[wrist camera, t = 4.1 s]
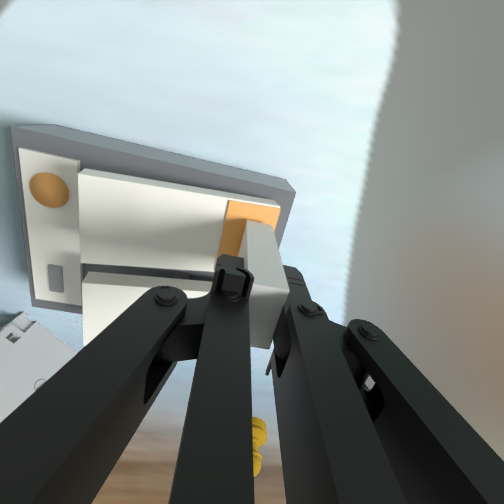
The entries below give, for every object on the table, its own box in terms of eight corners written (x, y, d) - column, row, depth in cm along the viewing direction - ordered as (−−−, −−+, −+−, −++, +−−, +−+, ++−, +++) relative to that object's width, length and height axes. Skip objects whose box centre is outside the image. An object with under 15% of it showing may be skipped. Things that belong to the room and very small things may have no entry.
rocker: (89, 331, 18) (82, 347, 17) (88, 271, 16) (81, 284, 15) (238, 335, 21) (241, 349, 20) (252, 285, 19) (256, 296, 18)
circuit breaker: (88, 424, 31) (-27, 654, 18) (-29, 348, 26) (-319, 593, 13) (137, 398, 30) (52, 627, 16) (23, 311, 24) (-243, 546, 11)
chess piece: (235, 415, 32) (234, 464, 27) (268, 417, 32) (273, 465, 28) (231, 436, 34) (229, 485, 29) (263, 438, 34) (266, 486, 29)
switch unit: (64, 277, 23) (23, 314, 19) (55, 124, 18) (-4, 125, 14) (249, 308, 25) (251, 348, 21) (286, 179, 20) (298, 195, 16)
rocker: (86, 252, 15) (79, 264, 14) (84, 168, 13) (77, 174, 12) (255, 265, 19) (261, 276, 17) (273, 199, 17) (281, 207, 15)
